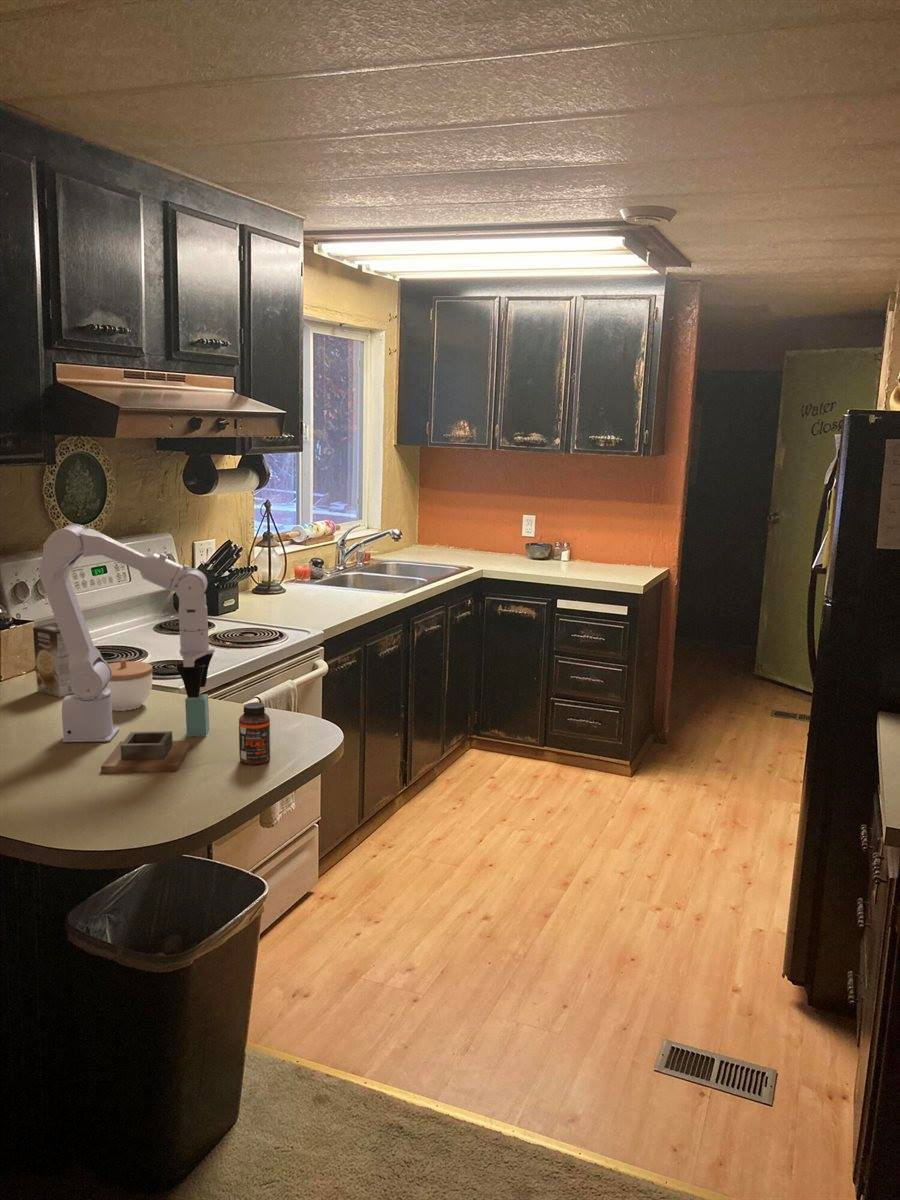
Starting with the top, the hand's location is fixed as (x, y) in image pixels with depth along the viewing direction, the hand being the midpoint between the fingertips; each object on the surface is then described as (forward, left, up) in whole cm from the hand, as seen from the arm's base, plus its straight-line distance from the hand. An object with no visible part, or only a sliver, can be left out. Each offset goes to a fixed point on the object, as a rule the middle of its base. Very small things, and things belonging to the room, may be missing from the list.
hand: (196, 691), depth 201 cm
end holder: (-7, -15, -9) cm, 19 cm away
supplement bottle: (+14, -17, -9) cm, 24 cm away
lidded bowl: (-20, +20, -9) cm, 30 cm away
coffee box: (-39, +33, -9) cm, 52 cm away
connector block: (0, 0, -9) cm, 9 cm away
